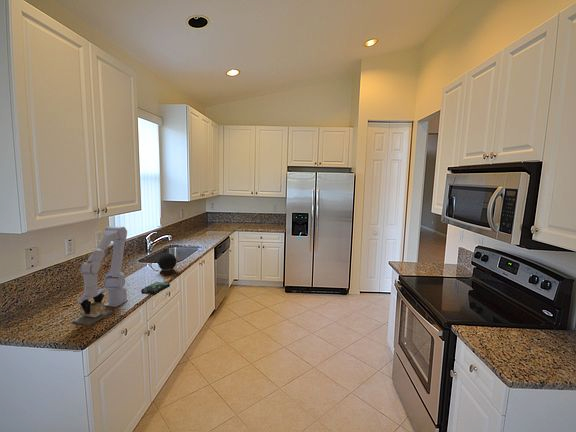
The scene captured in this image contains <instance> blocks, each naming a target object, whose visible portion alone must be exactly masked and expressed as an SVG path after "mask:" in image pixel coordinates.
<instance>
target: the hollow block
mask: <svg viewBox="0 0 576 432" xmlns="http://www.w3.org/2000/svg"><path fill="white" fill-rule="evenodd" d="M104 304H105V303H104V302H101V303H98V302H94V301H91V305H90V314H85V312H84V310H83V308H82V306H81V305H79V313H80V314H79V315H80V317H81V316H89V317H97V316H99V315H101V314H103V313H104V312H105V310H106V309H105V305H104Z"/></svg>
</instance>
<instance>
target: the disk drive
mask: <svg viewBox="0 0 576 432" xmlns="http://www.w3.org/2000/svg"><path fill="white" fill-rule="evenodd" d="M170 287H171V284H170V282H161V281H156V282H153V283H151V284H150V285H147V286H145V287H144V288H141V289H140V290H141V293H142V294H150V295H157V294H158V293H160V292H162V291H164V290H166V289H168V288H170Z"/></svg>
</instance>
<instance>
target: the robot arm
mask: <svg viewBox="0 0 576 432" xmlns="http://www.w3.org/2000/svg"><path fill="white" fill-rule="evenodd" d="M102 234H103V237H102V239H101V241H100V243H99V245H98V247H97V249H94V250H92V252H91V254H90V255H89V257H88V259H87V260H86V261H85V262H83V263H82V264H81V266H80V269H79V272H80V273H81V276H82V277H83V290H84V291H83V292H84V293H83V295H82V296H80V297H79V298H77V299H76V301H77V304H79V306H82V308H83V310H84V312H85V314H90V305H91V302H92V300H91V301H90V299H93V302H98V303H103V299H104V297H105V293H107V303H104V307H106V306H107V307H114V308H117V307H119V306H120V305H122V304H124V303H127V302H128V301H129V298H128V295H127V288H126V287H125V285H126V275H125V274H124V273H123V272H122V266H123V259H124V252H125V244H126V241H127V236H128V230H127V228H126V227H125V226H110V225H109V226H106V227H105V228H104V230H103V232H102ZM112 242H113V250H112V255H111V261H110V262H111V264H110V269H109V271H108V272H107V273H105V277H104V278H103V281H102V285H103V288H100V289H99V285H98V272H99V271H100V268H101V262H102V261H103V259H104V258H105V256H106V253H105V251H106V250H107V249H108V247H109V245H110V244H111V243H112ZM106 291H107V292H106Z"/></svg>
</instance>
